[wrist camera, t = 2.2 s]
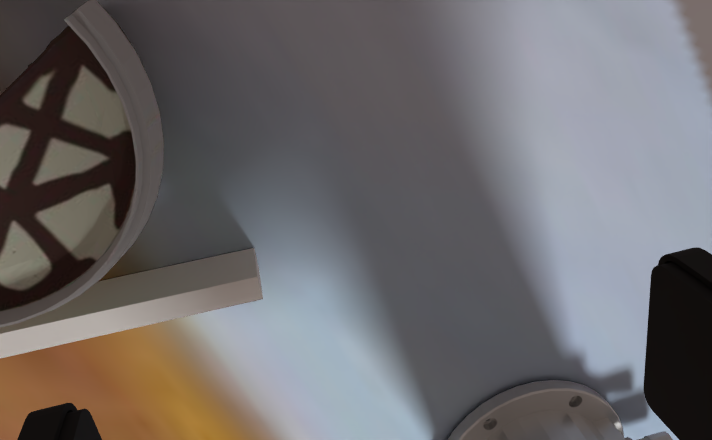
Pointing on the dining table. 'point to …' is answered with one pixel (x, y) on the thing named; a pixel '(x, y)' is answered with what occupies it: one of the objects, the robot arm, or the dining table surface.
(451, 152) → the dining table surface
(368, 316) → the dining table surface
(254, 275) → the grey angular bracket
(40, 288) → the food container
